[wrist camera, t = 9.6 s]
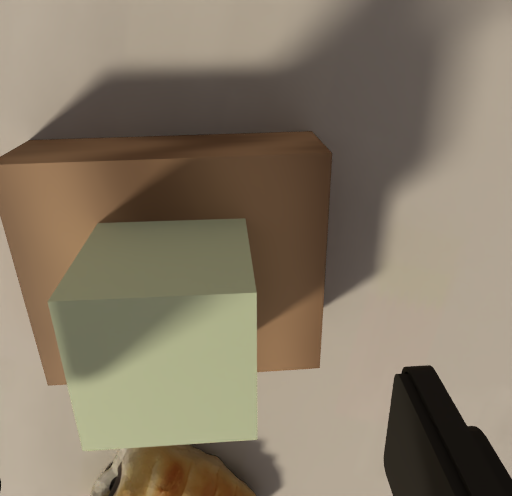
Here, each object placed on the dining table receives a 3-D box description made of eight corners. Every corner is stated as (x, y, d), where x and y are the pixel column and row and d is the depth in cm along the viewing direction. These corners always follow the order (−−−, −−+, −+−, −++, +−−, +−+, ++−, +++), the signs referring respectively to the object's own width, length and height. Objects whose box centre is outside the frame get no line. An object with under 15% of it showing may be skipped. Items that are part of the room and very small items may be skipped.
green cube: (245, 218, 16) (256, 292, 11) (247, 337, 18) (257, 440, 13) (97, 222, 15) (47, 301, 11) (117, 343, 17) (82, 451, 13)
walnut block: (309, 129, 18) (332, 153, 15) (303, 313, 22) (319, 367, 19) (32, 137, 18) (-15, 165, 14) (76, 326, 22) (48, 385, 18)
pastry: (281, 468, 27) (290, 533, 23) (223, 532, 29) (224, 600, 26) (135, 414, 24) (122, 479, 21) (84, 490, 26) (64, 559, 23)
